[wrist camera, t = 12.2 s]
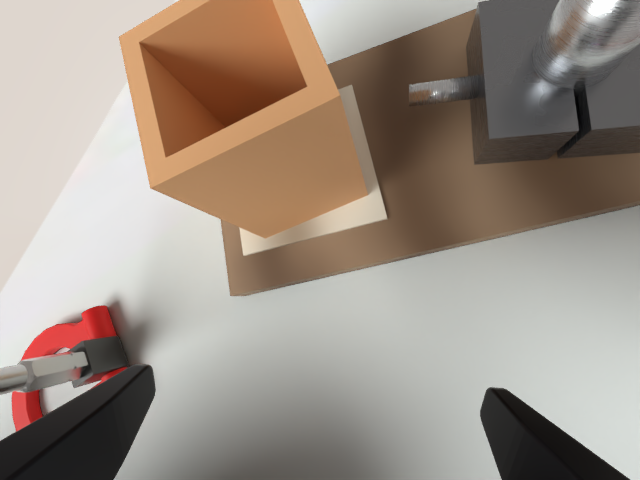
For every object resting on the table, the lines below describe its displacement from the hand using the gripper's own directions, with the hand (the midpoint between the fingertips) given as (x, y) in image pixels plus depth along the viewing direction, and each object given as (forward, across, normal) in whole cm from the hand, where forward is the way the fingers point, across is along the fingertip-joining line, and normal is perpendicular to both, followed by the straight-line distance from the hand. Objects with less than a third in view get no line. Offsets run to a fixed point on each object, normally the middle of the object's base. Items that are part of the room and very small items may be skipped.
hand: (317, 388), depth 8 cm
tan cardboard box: (+11, +2, -5) cm, 12 cm away
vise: (+10, -9, -9) cm, 16 cm away
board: (+12, -5, -6) cm, 14 cm away
